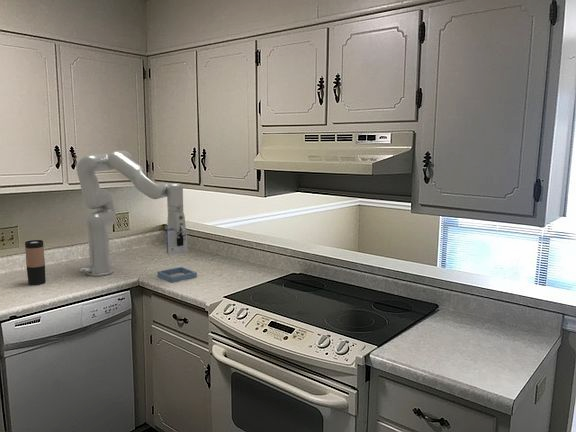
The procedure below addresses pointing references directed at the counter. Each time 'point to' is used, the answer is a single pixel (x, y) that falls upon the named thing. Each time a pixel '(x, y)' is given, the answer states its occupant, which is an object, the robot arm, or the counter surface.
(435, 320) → the counter surface
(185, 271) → the frame
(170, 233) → the ink cartridge box
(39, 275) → the travel mug
